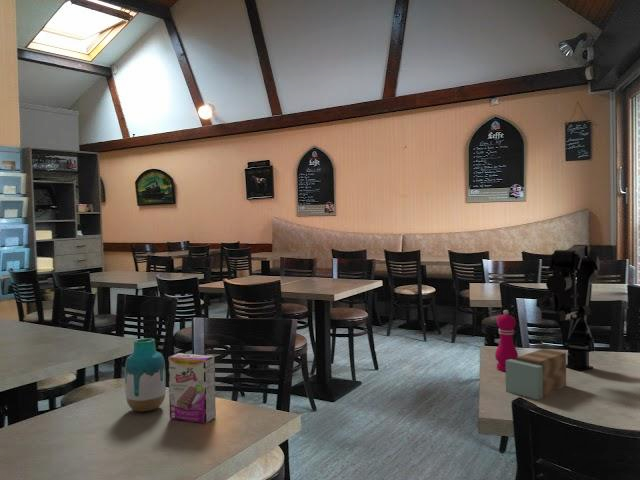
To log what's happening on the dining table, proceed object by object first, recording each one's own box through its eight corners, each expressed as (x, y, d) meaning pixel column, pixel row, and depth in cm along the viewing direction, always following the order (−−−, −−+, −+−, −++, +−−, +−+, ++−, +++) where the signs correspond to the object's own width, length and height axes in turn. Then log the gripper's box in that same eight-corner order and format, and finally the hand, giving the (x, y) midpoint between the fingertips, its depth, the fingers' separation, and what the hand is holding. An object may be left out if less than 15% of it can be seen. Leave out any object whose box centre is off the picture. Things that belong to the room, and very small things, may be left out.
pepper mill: (520, 372, 168) (519, 311, 168) (496, 372, 170) (496, 311, 169) (516, 366, 175) (515, 308, 175) (493, 366, 177) (493, 308, 176)
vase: (174, 405, 144) (172, 337, 143) (147, 419, 134) (145, 345, 133) (145, 401, 148) (143, 334, 148) (116, 413, 138) (114, 342, 138)
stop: (511, 389, 152) (510, 358, 152) (542, 398, 144) (542, 366, 143) (505, 391, 150) (505, 360, 150) (537, 400, 142) (537, 367, 142)
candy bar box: (168, 420, 133) (166, 356, 132) (180, 413, 138) (178, 352, 137) (206, 424, 129) (204, 359, 129) (216, 417, 134) (215, 355, 134)
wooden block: (543, 380, 160) (543, 348, 159) (566, 386, 154) (565, 352, 154) (516, 391, 150) (516, 357, 150) (539, 397, 145) (539, 361, 145)
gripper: (557, 285, 173) (558, 331, 174) (525, 290, 162) (525, 339, 163) (591, 288, 164) (591, 337, 164) (558, 293, 153) (559, 346, 154)
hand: (566, 339), depth 162 cm, fingers closed
